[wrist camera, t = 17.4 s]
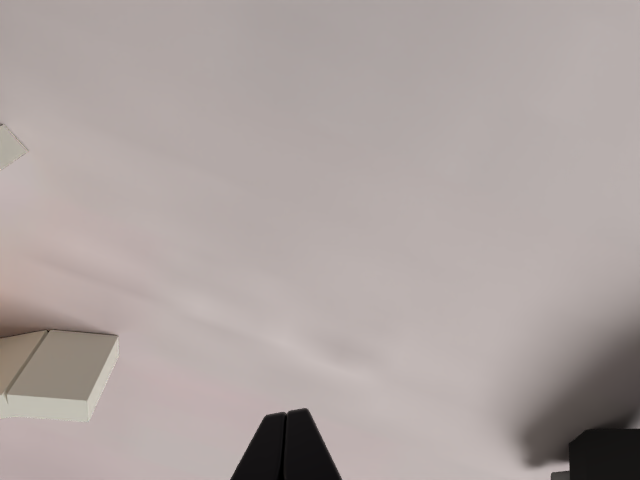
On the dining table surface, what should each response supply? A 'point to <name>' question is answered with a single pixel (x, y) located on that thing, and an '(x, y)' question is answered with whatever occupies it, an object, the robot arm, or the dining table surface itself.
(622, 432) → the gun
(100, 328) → the dining table surface
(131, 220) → the dining table surface
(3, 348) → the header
